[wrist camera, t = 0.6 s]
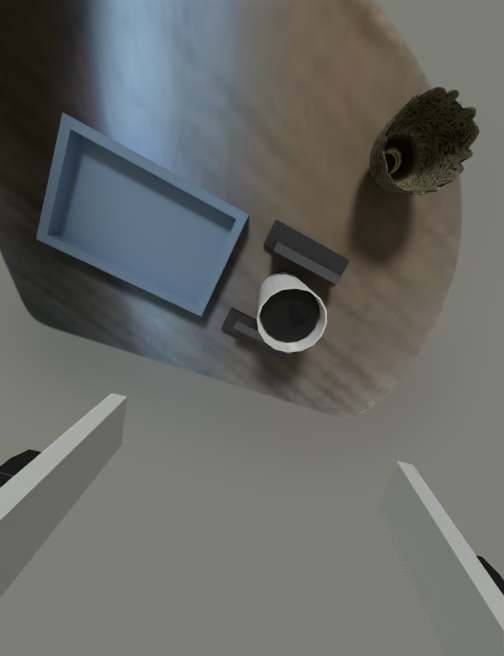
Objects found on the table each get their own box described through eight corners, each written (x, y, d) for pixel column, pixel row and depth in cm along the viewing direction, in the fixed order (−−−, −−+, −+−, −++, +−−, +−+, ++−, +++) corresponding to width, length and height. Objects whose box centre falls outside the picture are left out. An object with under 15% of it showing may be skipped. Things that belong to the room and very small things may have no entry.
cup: (338, 171, 30) (366, 154, 23) (388, 104, 28) (437, 62, 20) (385, 214, 32) (426, 212, 24) (436, 155, 29) (498, 132, 22)
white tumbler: (285, 257, 33) (298, 270, 24) (318, 296, 35) (341, 323, 26) (245, 292, 35) (242, 317, 26) (278, 328, 37) (286, 364, 27)
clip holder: (275, 219, 32) (278, 219, 28) (347, 259, 33) (359, 264, 30) (222, 326, 37) (218, 338, 33) (286, 356, 38) (290, 371, 35)
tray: (78, 121, 28) (62, 112, 26) (249, 215, 32) (248, 214, 29) (51, 237, 33) (35, 239, 30) (204, 310, 36) (201, 316, 34)
